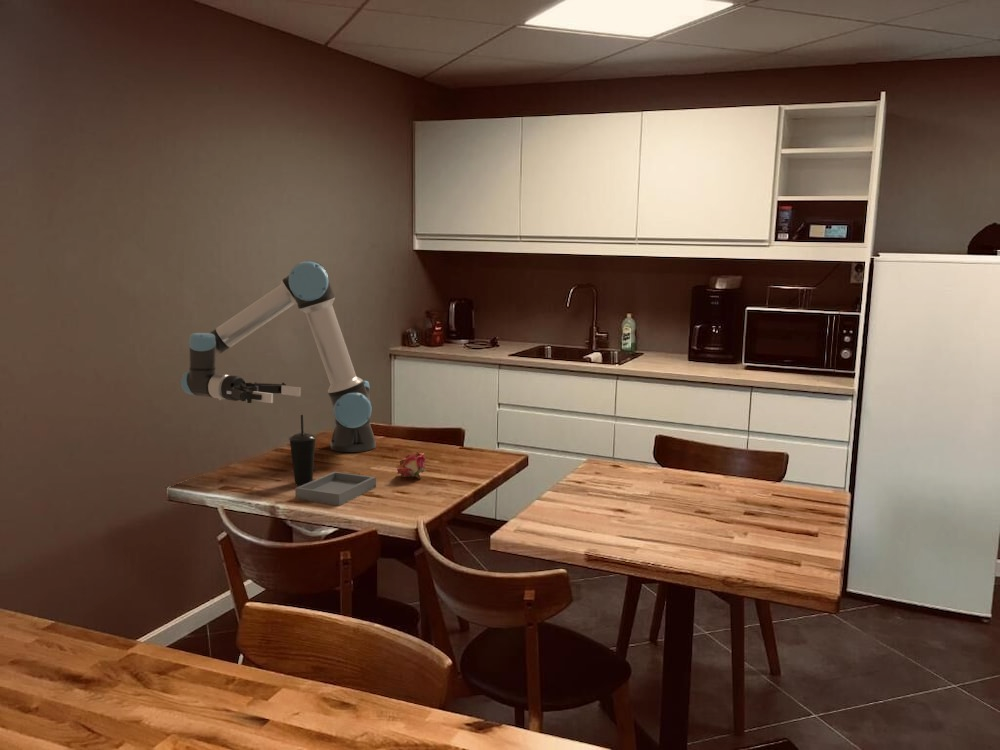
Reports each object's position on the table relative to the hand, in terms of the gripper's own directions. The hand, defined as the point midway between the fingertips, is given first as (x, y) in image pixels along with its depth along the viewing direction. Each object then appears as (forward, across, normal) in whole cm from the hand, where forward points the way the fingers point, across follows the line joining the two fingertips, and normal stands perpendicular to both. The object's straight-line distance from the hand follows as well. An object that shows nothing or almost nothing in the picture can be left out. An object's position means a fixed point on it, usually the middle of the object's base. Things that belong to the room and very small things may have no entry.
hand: (286, 395), depth 235 cm
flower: (+37, -11, -22) cm, 44 cm away
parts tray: (+25, +11, -23) cm, 36 cm away
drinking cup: (+11, +6, -24) cm, 27 cm away
